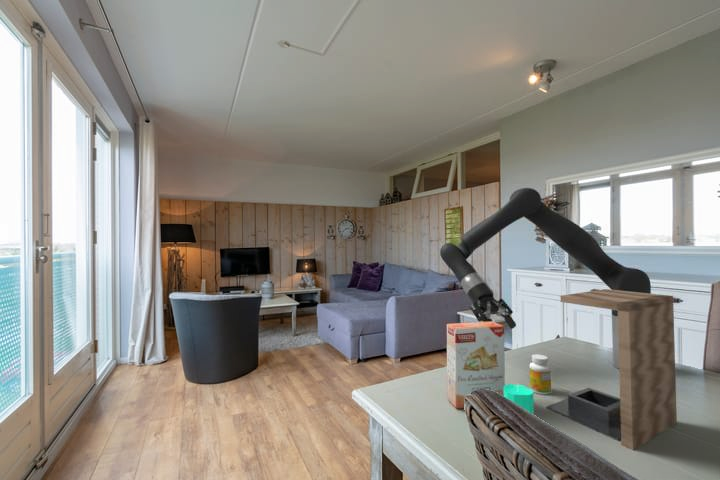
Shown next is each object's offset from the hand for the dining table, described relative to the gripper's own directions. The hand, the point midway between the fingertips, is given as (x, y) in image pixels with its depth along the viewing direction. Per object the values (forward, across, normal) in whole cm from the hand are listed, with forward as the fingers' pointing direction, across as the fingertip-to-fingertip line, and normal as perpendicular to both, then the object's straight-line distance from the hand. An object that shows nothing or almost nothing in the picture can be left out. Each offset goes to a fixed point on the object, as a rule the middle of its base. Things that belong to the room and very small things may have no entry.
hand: (505, 329), depth 105 cm
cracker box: (+16, -21, +6) cm, 27 cm away
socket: (+29, 0, -8) cm, 30 cm away
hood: (+32, +1, -11) cm, 34 cm away
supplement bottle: (+19, 0, +3) cm, 19 cm away
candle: (+27, -25, -6) cm, 38 cm away
